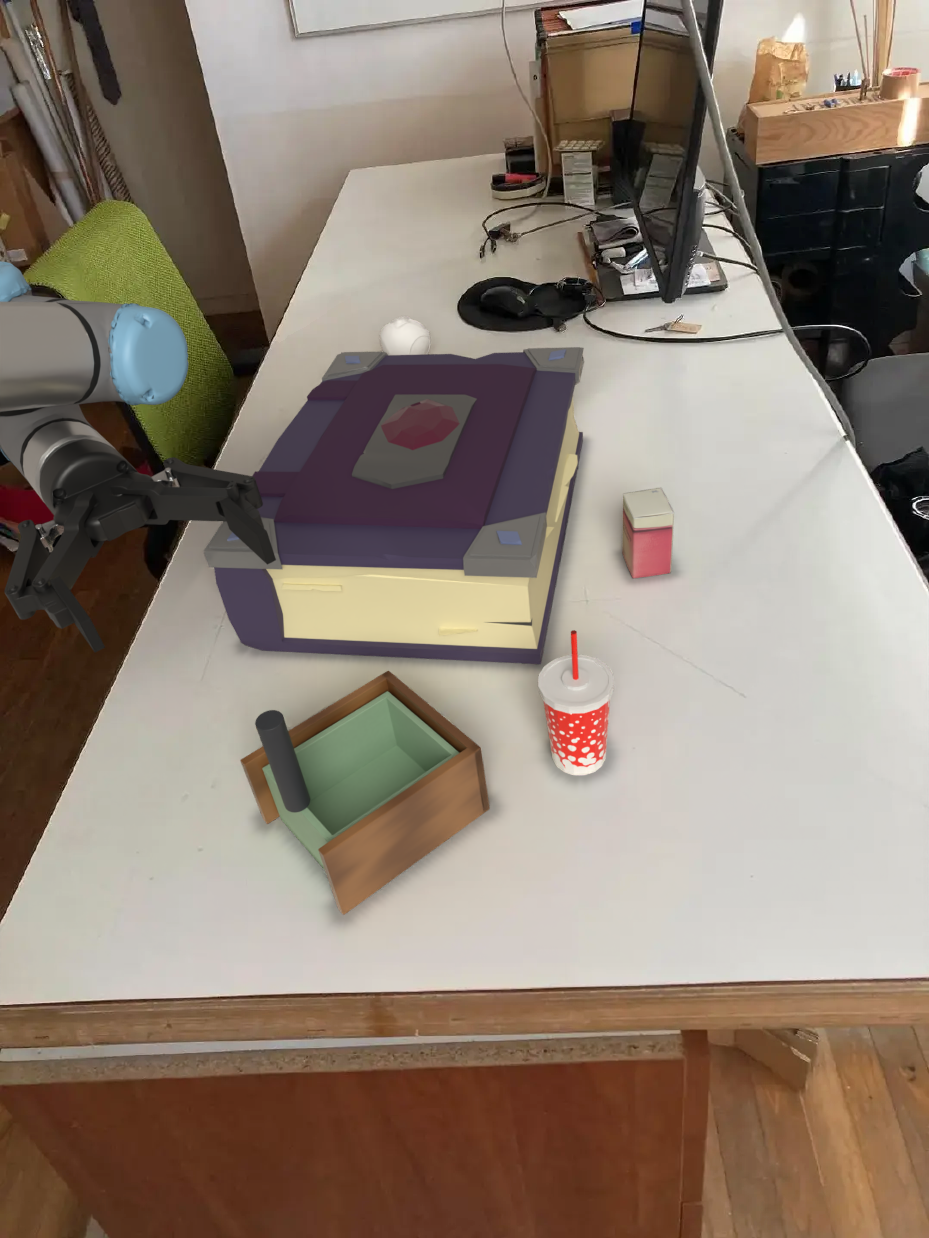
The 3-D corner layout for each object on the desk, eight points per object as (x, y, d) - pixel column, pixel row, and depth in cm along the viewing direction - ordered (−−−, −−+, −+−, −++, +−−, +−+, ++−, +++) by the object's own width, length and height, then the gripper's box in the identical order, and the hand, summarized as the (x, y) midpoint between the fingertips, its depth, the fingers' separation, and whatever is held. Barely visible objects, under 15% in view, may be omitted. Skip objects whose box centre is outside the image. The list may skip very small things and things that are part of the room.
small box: (621, 553, 102) (621, 491, 97) (659, 547, 102) (661, 485, 97) (632, 580, 98) (632, 518, 93) (672, 574, 98) (675, 511, 93)
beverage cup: (608, 787, 77) (607, 663, 68) (536, 777, 79) (526, 654, 70) (619, 733, 81) (619, 610, 73) (551, 725, 83) (542, 603, 74)
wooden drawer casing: (343, 915, 70) (323, 855, 66) (262, 819, 78) (239, 759, 74) (490, 809, 77) (481, 747, 72) (401, 730, 85) (388, 669, 80)
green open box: (339, 901, 71) (293, 767, 61) (273, 824, 78) (223, 691, 68) (470, 807, 77) (448, 670, 67) (399, 742, 83) (369, 609, 74)
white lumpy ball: (438, 354, 148) (432, 306, 143) (426, 375, 143) (419, 326, 138) (391, 354, 150) (383, 307, 145) (377, 375, 144) (368, 327, 140)
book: (225, 651, 96) (185, 540, 87) (347, 437, 130) (327, 341, 121) (545, 667, 89) (536, 548, 80) (587, 436, 123) (584, 334, 114)
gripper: (225, 459, 87) (342, 554, 73) (-42, 579, 77) (34, 715, 63) (201, 386, 82) (321, 473, 68) (-88, 504, 72) (-16, 634, 59)
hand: (183, 590), depth 66 cm, fingers open, 13 cm apart
